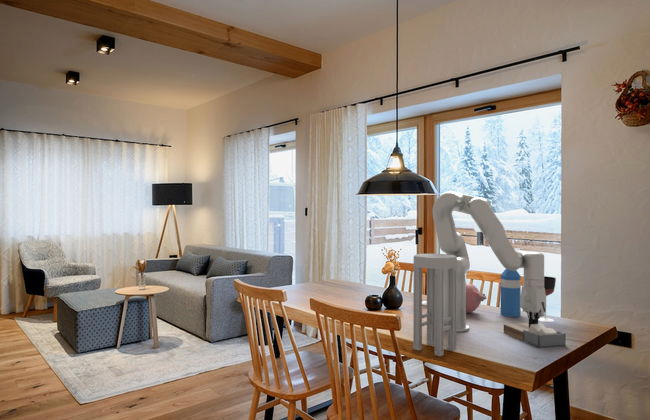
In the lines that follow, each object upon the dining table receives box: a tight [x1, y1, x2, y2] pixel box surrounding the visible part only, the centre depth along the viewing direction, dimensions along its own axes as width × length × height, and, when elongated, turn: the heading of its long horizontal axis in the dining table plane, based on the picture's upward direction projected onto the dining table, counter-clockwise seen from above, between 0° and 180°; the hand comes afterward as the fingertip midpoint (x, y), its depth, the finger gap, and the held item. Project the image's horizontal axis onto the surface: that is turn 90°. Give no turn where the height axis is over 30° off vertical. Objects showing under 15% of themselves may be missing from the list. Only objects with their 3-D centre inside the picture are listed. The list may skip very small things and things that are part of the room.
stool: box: [412, 253, 457, 357], centre depth 162 cm, size 16×16×35 cm
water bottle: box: [500, 268, 522, 318], centre depth 216 cm, size 9×9×25 cm
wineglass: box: [538, 275, 557, 323], centre depth 206 cm, size 8×9×20 cm
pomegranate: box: [466, 282, 487, 314], centre depth 218 cm, size 15×20×15 cm
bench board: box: [503, 322, 530, 342], centre depth 180 cm, size 12×12×4 cm
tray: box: [522, 329, 567, 349], centre depth 170 cm, size 12×8×4 cm
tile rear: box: [529, 323, 547, 335], centre depth 172 cm, size 5×5×3 cm
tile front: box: [539, 327, 557, 335], centre depth 168 cm, size 5×5×3 cm
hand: (533, 328), depth 175 cm, fingers closed
